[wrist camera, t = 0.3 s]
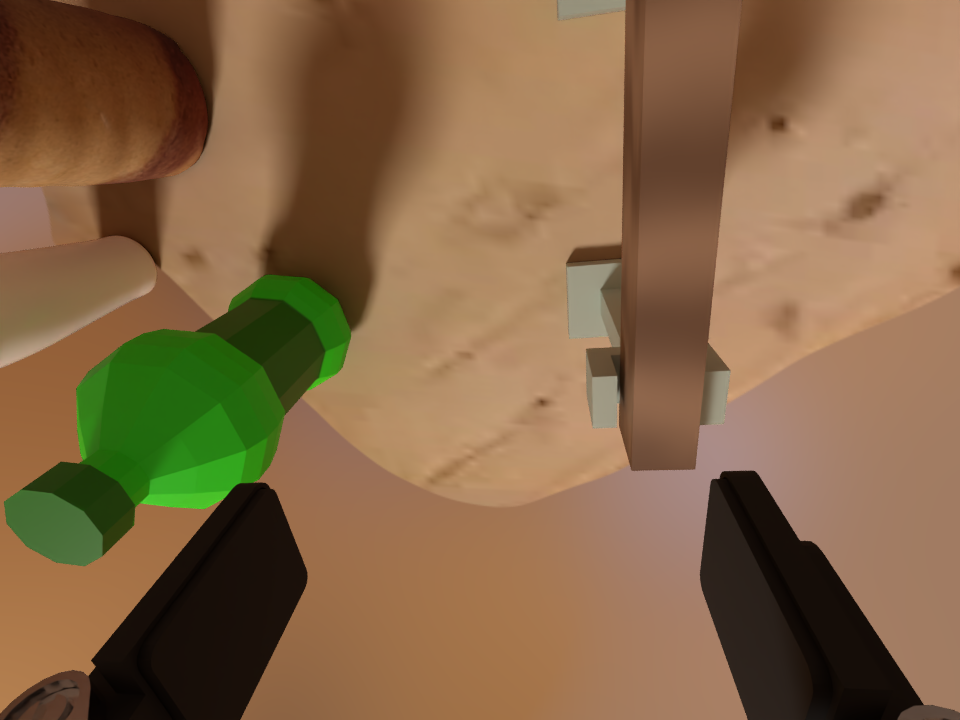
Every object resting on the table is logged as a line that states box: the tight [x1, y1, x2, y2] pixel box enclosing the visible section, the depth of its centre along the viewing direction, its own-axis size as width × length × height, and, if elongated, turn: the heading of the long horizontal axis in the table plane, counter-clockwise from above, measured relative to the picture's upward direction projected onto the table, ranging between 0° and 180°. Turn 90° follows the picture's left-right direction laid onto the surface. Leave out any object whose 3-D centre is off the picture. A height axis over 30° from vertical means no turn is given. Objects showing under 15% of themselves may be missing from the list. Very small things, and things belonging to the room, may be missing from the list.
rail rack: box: [557, 0, 730, 428], centre depth 26 cm, size 28×7×17 cm, turn 7°
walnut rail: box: [619, 0, 742, 471], centre depth 19 cm, size 28×3×4 cm, turn 7°
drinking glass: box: [0, 236, 157, 368], centre depth 35 cm, size 7×7×15 cm
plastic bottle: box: [4, 275, 351, 566], centre depth 31 cm, size 10×11×25 cm
